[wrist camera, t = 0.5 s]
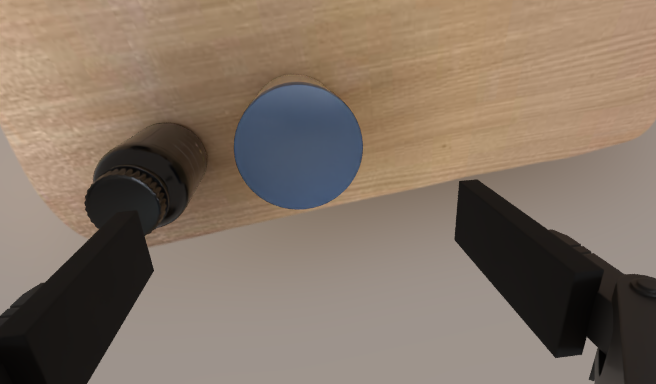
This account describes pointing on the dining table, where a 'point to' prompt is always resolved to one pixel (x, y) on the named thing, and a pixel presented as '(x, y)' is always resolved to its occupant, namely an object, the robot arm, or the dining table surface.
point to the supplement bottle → (148, 176)
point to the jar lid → (298, 145)
